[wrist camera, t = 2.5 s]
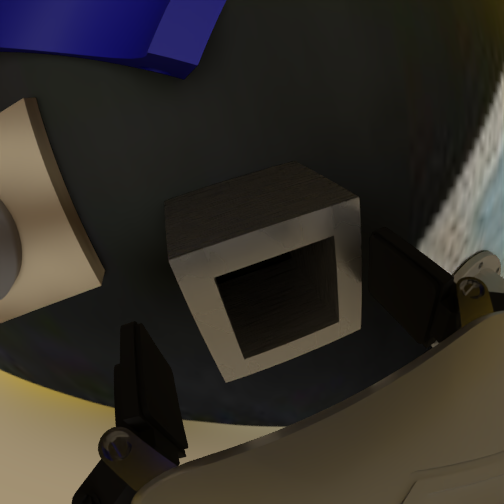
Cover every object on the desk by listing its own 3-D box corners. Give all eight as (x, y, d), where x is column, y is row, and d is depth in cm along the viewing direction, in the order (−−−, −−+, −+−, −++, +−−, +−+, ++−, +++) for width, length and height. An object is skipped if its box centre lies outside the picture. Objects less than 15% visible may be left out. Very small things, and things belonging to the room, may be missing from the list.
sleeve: (310, 267, 19) (360, 328, 14) (204, 306, 18) (226, 382, 13) (294, 161, 16) (359, 196, 11) (164, 201, 15) (168, 260, 10)
